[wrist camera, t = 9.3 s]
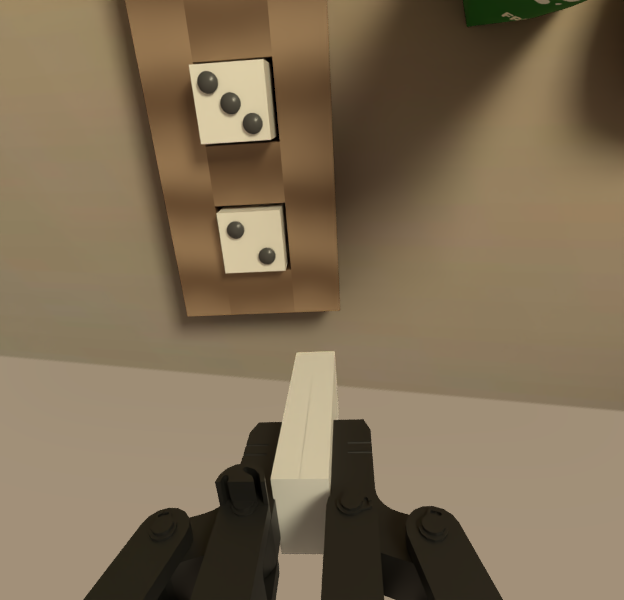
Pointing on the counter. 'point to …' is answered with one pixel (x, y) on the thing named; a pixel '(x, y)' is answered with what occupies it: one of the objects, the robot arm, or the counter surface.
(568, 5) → the milk carton
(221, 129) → the button three
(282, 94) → the button panel
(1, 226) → the counter surface
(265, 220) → the button two
